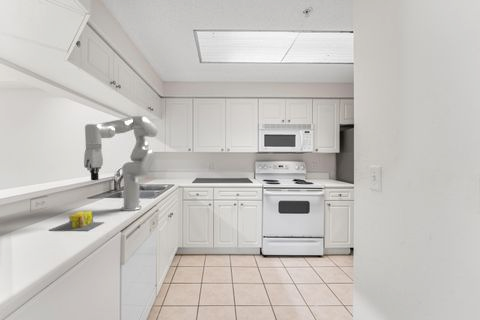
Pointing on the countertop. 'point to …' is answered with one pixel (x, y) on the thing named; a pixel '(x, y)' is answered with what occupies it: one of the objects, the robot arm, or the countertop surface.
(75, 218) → the supplement box
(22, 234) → the countertop surface
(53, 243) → the countertop surface
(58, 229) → the topple mat
